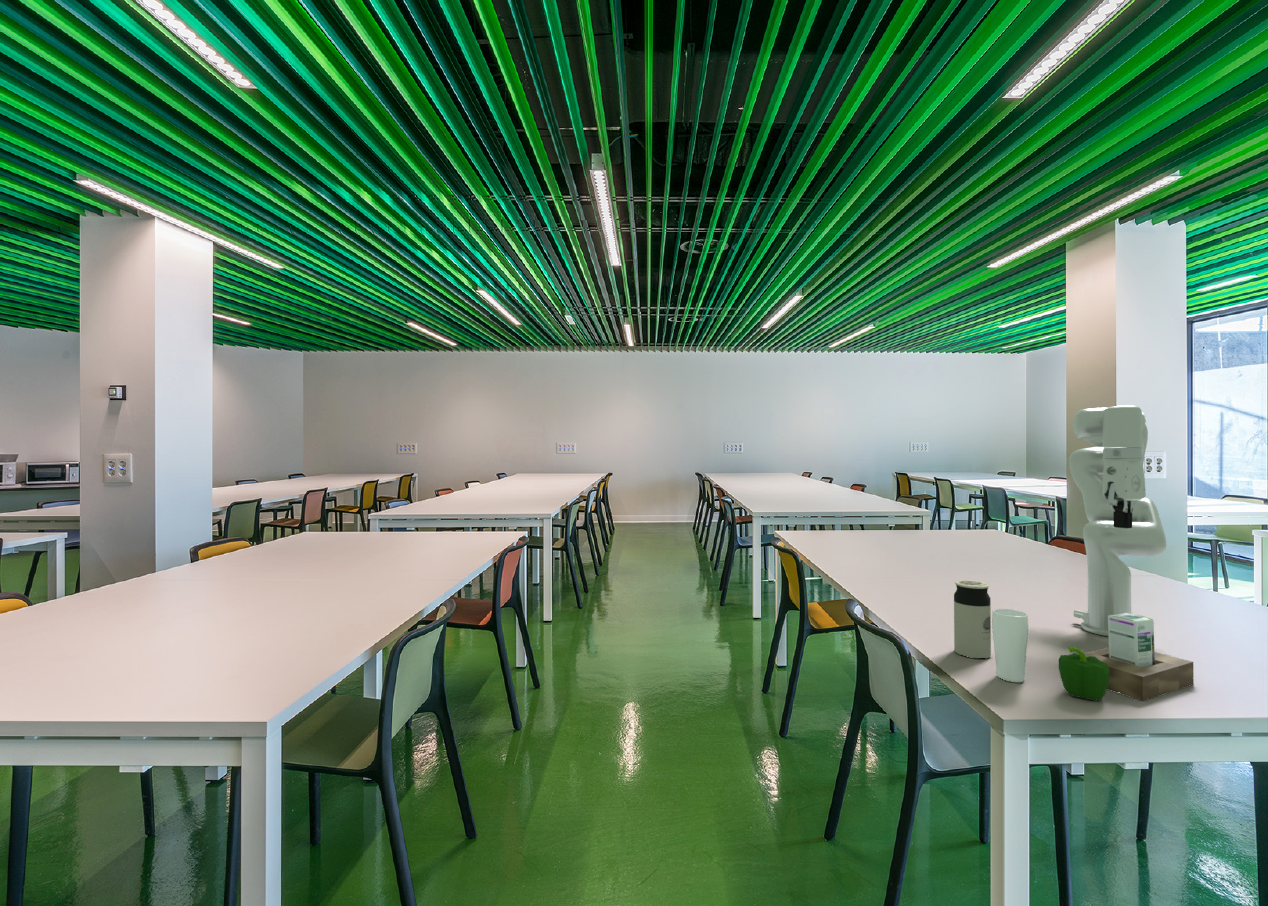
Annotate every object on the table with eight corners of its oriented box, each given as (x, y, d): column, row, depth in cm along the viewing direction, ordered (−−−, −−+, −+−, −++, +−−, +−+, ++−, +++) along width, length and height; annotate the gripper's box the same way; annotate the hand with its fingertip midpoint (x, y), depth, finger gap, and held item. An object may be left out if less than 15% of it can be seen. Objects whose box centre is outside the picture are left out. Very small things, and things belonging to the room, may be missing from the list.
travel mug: (947, 651, 145) (946, 581, 145) (969, 647, 147) (968, 578, 147) (975, 661, 137) (975, 588, 137) (998, 657, 140) (997, 585, 140)
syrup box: (1138, 688, 121) (1137, 621, 121) (1107, 677, 127) (1107, 613, 127) (1155, 684, 123) (1155, 618, 123) (1125, 674, 129) (1124, 611, 129)
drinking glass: (994, 670, 131) (994, 606, 131) (1029, 677, 127) (1029, 611, 127) (990, 679, 126) (990, 613, 126) (1027, 687, 122) (1026, 618, 122)
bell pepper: (1110, 695, 118) (1110, 647, 118) (1109, 708, 112) (1108, 658, 112) (1060, 684, 123) (1060, 639, 124) (1056, 696, 117) (1056, 648, 117)
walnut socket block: (1072, 678, 127) (1072, 656, 127) (1122, 664, 135) (1122, 643, 135) (1143, 701, 115) (1142, 676, 115) (1193, 684, 123) (1193, 661, 123)
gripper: (1123, 455, 135) (1123, 531, 135) (1157, 454, 141) (1157, 527, 141) (1087, 455, 142) (1088, 527, 142) (1121, 454, 148) (1121, 524, 148)
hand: (1122, 527), depth 141 cm, fingers closed
